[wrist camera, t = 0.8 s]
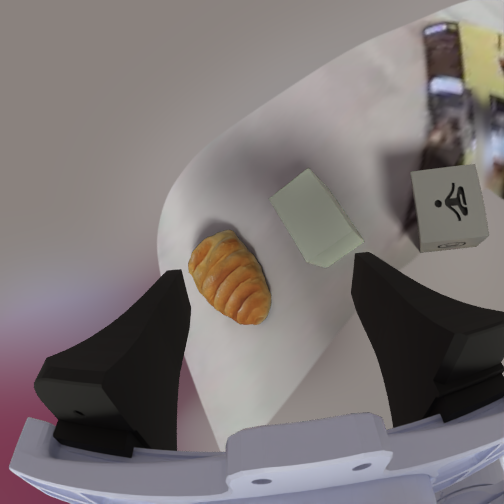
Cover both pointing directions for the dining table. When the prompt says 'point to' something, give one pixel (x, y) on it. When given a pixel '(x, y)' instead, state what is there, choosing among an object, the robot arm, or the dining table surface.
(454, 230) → the grey symbol cube
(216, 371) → the dining table surface
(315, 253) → the grey-green block
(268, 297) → the pastry
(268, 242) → the dining table surface
